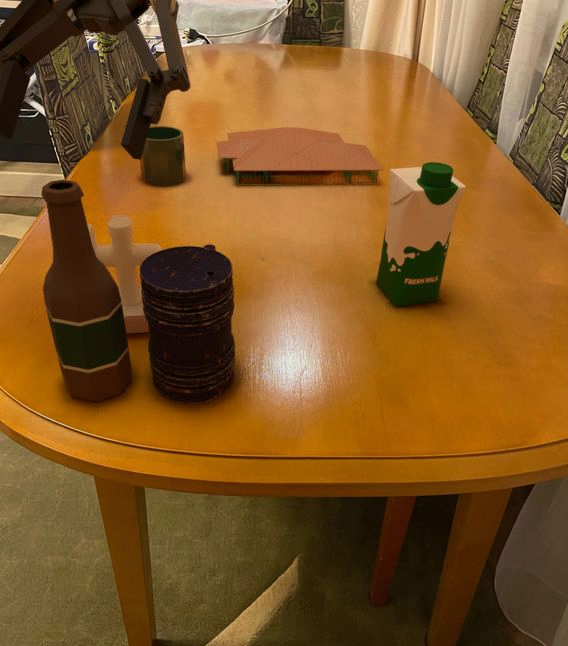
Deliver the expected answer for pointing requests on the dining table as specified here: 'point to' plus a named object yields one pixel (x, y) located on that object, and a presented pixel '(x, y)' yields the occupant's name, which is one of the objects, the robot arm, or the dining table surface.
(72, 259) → the beer bottle
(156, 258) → the dark oil barrel
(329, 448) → the dining table surface
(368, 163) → the house
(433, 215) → the milk carton
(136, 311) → the figurine
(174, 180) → the green mug
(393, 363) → the dining table surface
